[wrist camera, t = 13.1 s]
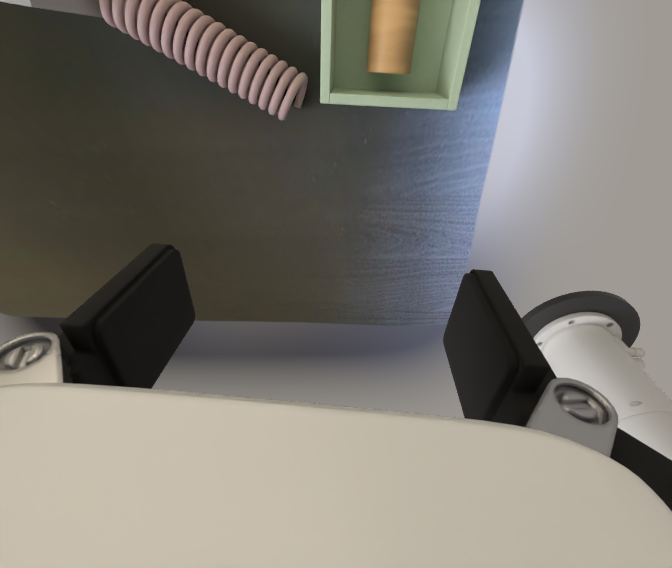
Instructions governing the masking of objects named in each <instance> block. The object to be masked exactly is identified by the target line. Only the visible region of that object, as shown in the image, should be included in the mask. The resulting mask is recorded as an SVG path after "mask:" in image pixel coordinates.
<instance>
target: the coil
mask: <svg viewBox="0 0 672 568" xmlns="http://www.w3.org/2000/svg"><path fill="white" fill-rule="evenodd" d="M154 4H155V5H156V6H155V8H154ZM99 5H100V10H101V13H102V16H103V18H104V19H105V21H106V22H107V23H108V24H109V25H111V26H112V27H118V29H119V30H120V31H122V32H123V33H126V34H130V35H131V37H133V38H134V39H136V40H141V41H142V42H143V43H144V44H145V45H146V46H153V48H154V49H155V50H156V51H157V52H161V53H162V52H164V54H165V55H166V56H167V57H168V58H171V59H174V58H175V60H176V61H177V62H178V63H179V64H182V65H184V64H186V66H187V68H188V69H190V70H193V71H194V70H197V72H198V74H199V75H201V76H206V75H207V77H208V79H209V80H210V81H211V82H216V81H218V84H219V85H220V86H221V87H222V88H226V87H227V86H228V89H229V91H230V92H231V93H237V92H238V93H239V96H240V97H241V98H242V99H246V98H247V97H248V96H249V102H250V103H251V104H256V103H257V102H258V100H259V107H260V109H262V110H265V109H266V108H267V107H268V105H269V109H268V111H269V113H270V114H271V115H275V114H276V113H277V111H278V109H279V106H280V104H281V101H282V98H283V95H284V92H285V89H286V87H287V86H288V89H287V93H286V95H285V97H284V100H283V102H282V104H281V107H280V110H279V113H278V118H279V119H280V120H285V118H286V116H287V114H288V112H289V109H290V106H291V104H292V102H293V99H294V97H295V96H296V99H295V102H294V106H295V107H297V108H301V106H302V103H303V99H304V96H305V93H306V88H307V83H308V77H307V75H306V74H305V73H300V74H298V71H297V69H296V68H295V67H290V68H288V65H287V63H286V62H285V61H278V59H277V57H276V56H275V55H273V54H271V55H268V53H267V51H266V50H265V49H263V48H259V49H258V47H257V45H256V44H255V43H254V42H247V40H246V38H245V37H243V36H241V35H238V36H237V34H236V33H235V32H234V31H233V30H232V29H226V27H225V26H224V25H223V24H222V23H220V22H215V21H214V19H213V18H211V17H210V16H207V15H204V14H203V13H202V12H201V11H200V10H199V9H193V8H192V6H191V5H190V4H188V3H187V2H182V1H181V0H112V12H111V0H99ZM166 12H167V16H166V18H165V15H166ZM112 14H113V15H112ZM177 21H178V26H177V28H176V22H177ZM188 29H189V33H188V37H187V41H186V45H185V49H184V51H183V46H184V43H185V39H186V33H187V31H188ZM175 30H176V31H175ZM148 34H149V35H148ZM160 38H161V41H160ZM173 38H174V40H173ZM198 39H199V43H198V47H197V51H196V54H195V56H194V53H195V48H196V45H197V42H198ZM229 40H230V43H229ZM172 41H173V45H172V47H171V43H172ZM239 47H241V49H240V51H239ZM207 52H208V54H207ZM250 54H251V57H250V59H249V55H250ZM206 56H207V58H206ZM260 61H261V65H260V66H259V68H258V65H259V62H260ZM270 68H271V69H270ZM269 69H270V74H269V76H268V78H267V74H268V71H269ZM279 76H280V78H279V83H278V85H277V87H276V89H275V85H276V82H277V79H278V77H279ZM266 79H267V80H266ZM288 84H289V85H288ZM274 89H275V91H274ZM273 92H274V93H273ZM296 94H297V95H296ZM272 95H273V96H272ZM270 100H271V101H270ZM269 103H270V104H269Z"/></svg>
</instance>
